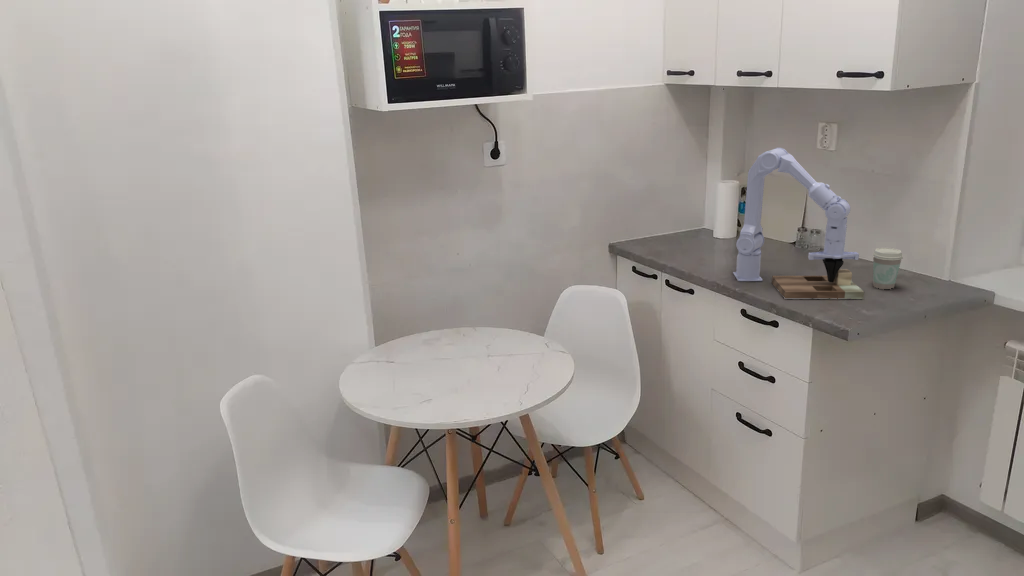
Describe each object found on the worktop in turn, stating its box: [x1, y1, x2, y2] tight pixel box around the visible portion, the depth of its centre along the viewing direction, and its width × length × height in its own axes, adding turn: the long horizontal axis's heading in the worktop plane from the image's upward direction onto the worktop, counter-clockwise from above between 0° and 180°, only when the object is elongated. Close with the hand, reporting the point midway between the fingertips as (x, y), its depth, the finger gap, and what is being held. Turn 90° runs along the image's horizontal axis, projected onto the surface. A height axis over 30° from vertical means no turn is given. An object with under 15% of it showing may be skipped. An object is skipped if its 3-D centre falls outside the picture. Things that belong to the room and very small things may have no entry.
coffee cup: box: [872, 247, 904, 290], centre depth 225 cm, size 9×8×12 cm
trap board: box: [771, 275, 865, 300], centre depth 225 cm, size 17×23×2 cm
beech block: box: [834, 268, 853, 285], centre depth 223 cm, size 4×4×4 cm
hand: (830, 281), depth 224 cm, fingers closed
